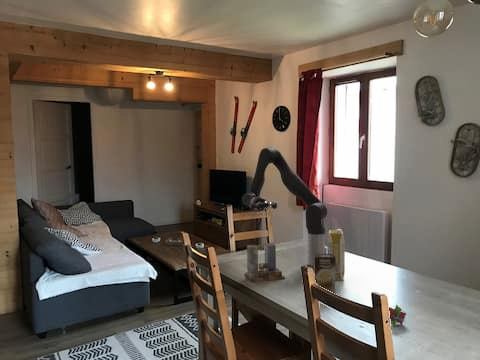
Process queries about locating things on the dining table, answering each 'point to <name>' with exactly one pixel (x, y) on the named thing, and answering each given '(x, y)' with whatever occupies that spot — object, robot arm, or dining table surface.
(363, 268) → the dining table surface
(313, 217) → the robot arm
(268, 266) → the grey clamp fixture
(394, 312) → the geometric puzzle
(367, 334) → the dining table surface
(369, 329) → the dining table surface
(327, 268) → the coffee box
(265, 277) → the hinge jig
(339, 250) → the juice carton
